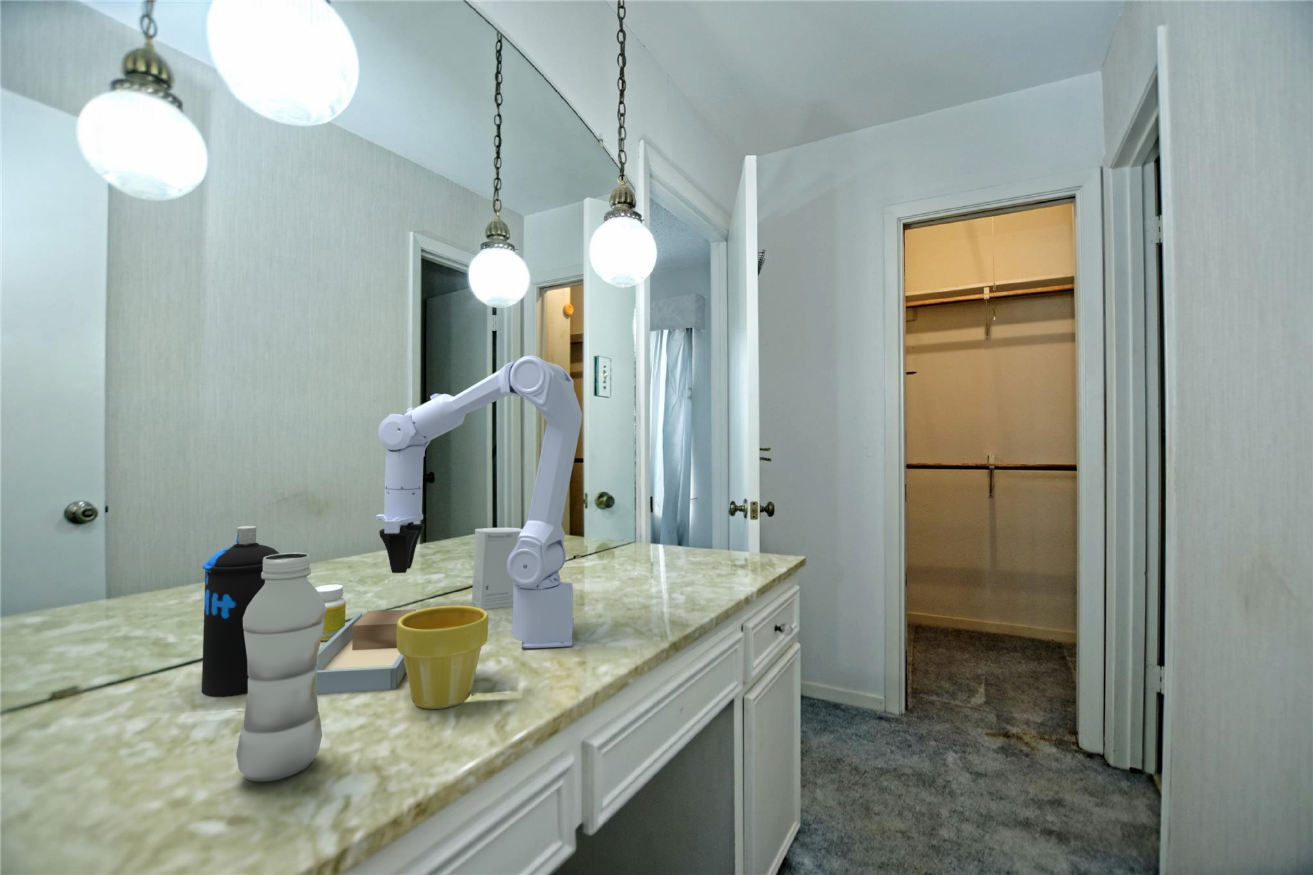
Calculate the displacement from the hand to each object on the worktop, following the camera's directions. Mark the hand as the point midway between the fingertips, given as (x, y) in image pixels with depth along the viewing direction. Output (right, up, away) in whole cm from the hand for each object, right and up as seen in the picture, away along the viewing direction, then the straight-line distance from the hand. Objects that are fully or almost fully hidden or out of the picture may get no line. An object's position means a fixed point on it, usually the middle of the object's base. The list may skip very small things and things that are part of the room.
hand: (401, 570), depth 93 cm
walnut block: (+2, -8, -9) cm, 12 cm away
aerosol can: (-9, -9, -24) cm, 27 cm away
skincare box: (+13, -10, +12) cm, 20 cm away
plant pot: (+16, -10, -25) cm, 31 cm away
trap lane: (+5, -9, -14) cm, 18 cm away
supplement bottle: (-8, -9, -8) cm, 14 cm away
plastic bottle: (+7, -9, -40) cm, 42 cm away
